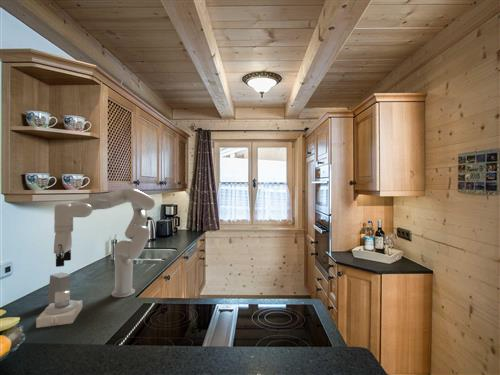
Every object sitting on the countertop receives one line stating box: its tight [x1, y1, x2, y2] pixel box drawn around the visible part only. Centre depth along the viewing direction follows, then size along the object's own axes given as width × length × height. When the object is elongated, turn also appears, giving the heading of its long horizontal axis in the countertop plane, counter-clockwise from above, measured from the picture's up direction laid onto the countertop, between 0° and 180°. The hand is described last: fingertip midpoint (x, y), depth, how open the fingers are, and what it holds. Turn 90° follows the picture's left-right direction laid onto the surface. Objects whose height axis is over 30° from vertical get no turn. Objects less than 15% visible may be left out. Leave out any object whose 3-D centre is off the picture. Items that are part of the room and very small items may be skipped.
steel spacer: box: [55, 289, 71, 309], centre depth 127 cm, size 6×6×7 cm
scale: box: [35, 299, 83, 328], centre depth 126 cm, size 17×14×5 cm
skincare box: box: [46, 272, 72, 306], centre depth 140 cm, size 8×7×16 cm
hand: (63, 263), depth 127 cm, fingers open, 9 cm apart
